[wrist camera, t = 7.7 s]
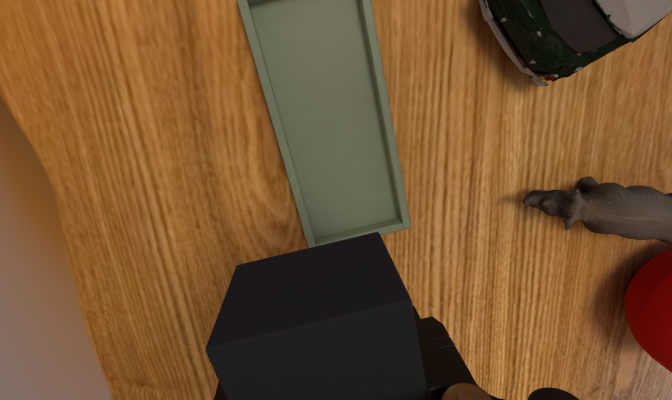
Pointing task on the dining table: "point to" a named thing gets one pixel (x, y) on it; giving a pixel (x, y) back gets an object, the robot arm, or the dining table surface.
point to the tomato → (652, 308)
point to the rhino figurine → (610, 209)
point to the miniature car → (568, 30)
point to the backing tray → (329, 114)
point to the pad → (319, 327)
